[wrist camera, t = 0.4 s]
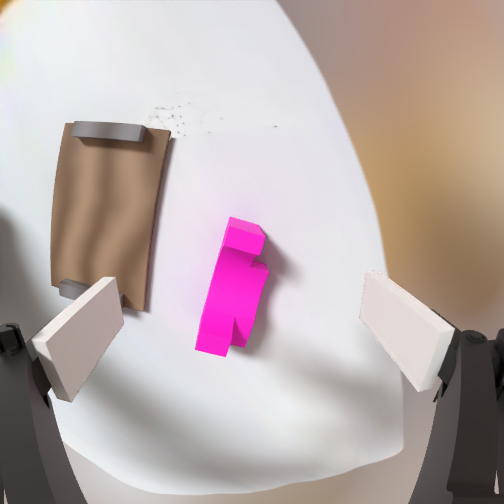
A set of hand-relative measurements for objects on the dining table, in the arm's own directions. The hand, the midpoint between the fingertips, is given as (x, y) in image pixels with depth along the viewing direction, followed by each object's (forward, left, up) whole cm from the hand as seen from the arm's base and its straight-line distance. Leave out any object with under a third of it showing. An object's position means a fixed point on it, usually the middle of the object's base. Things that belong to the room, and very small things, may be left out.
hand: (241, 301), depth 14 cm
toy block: (+2, -7, -22) cm, 23 cm away
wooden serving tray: (-18, -2, -22) cm, 29 cm away
